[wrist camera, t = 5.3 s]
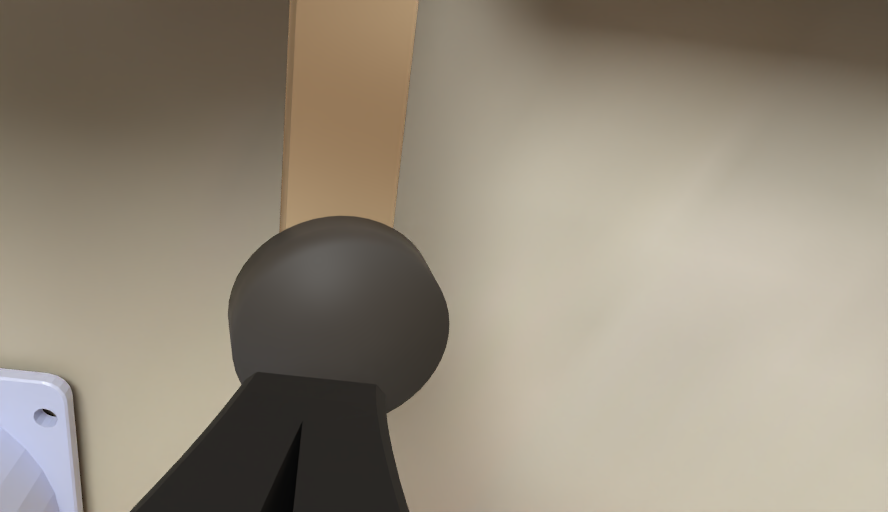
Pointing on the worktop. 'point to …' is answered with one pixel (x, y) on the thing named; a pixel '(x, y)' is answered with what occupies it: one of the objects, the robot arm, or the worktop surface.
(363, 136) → the lever
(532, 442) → the worktop surface
